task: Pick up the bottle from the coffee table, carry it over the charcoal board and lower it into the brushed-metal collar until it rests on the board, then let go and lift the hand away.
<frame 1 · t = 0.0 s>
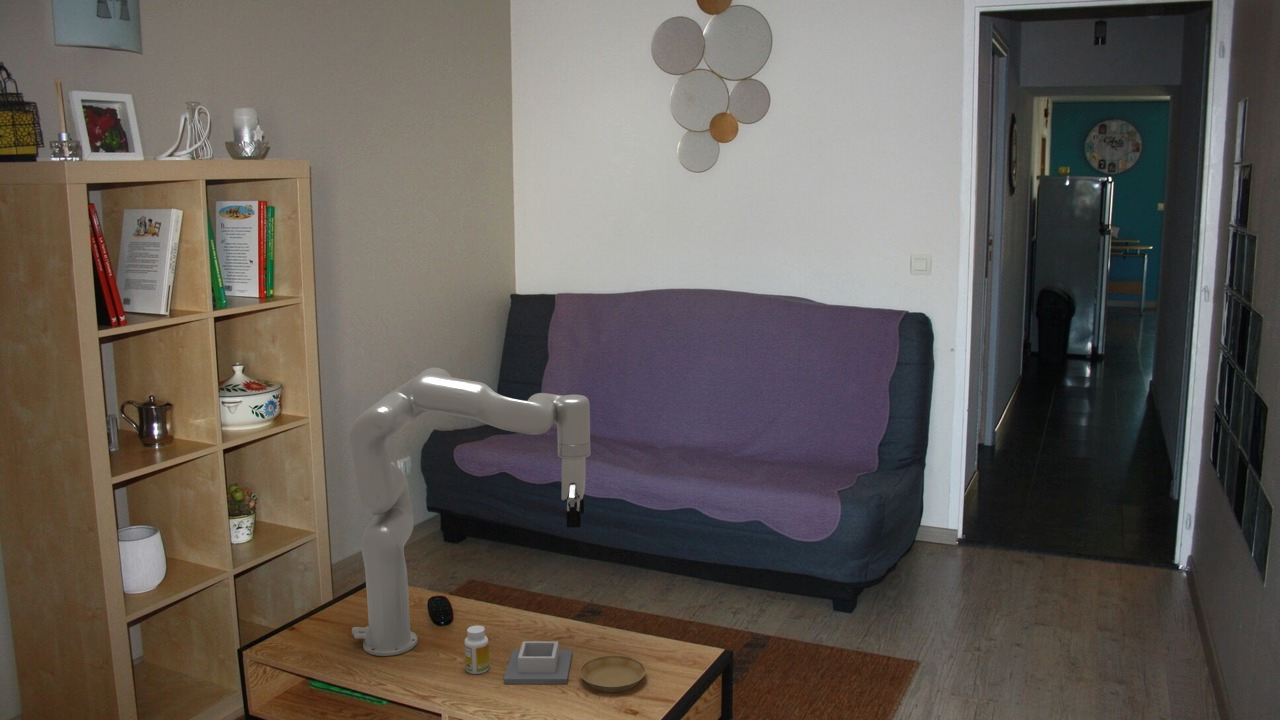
hand: (575, 519, 239), 31 cm above the table, fingers open, 9 cm apart
bottle holder: (539, 668, 233), on the table
supplement bottle: (477, 669, 234), on the table
plant saucer: (612, 681, 228), on the table
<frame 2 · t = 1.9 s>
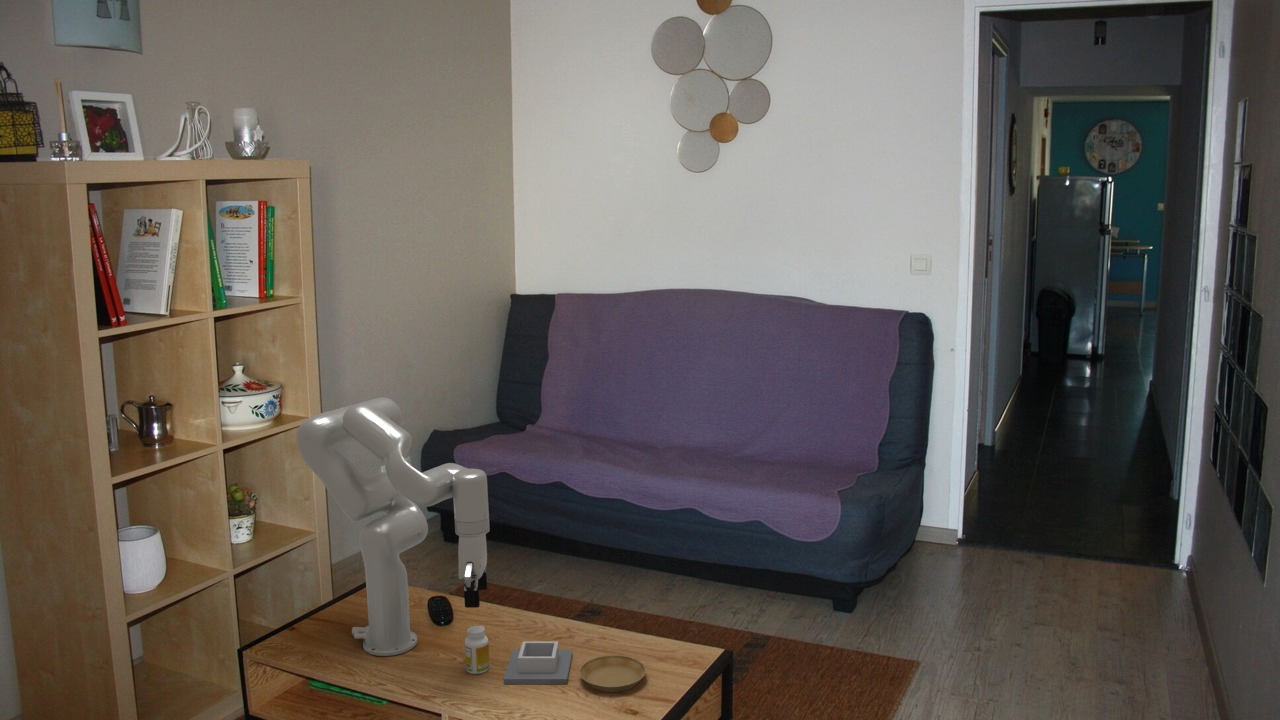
hand: (476, 598, 230), 17 cm above the table, fingers open, 9 cm apart
nothing on the table moved.
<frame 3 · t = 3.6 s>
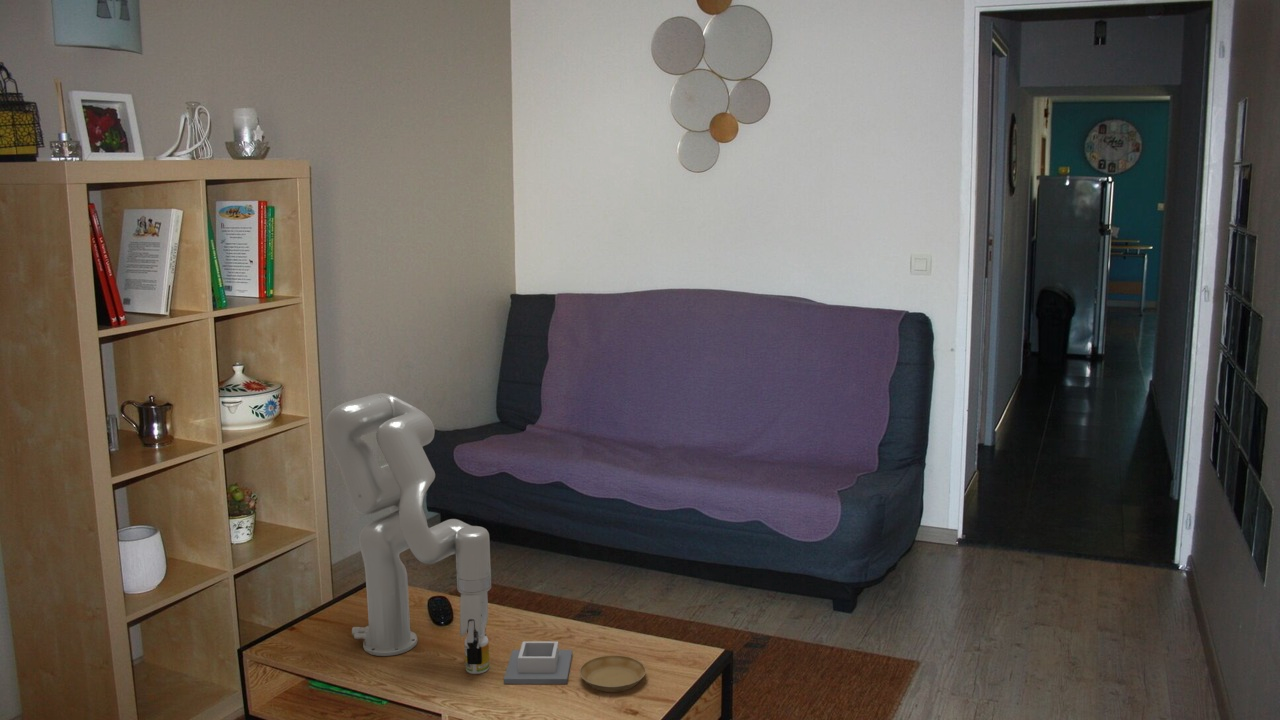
hand: (477, 656, 233), 3 cm above the table, fingers closed on supplement bottle, 5 cm apart
supplement bottle: (477, 669, 234), on the table, touching gripper
everything else where it was.
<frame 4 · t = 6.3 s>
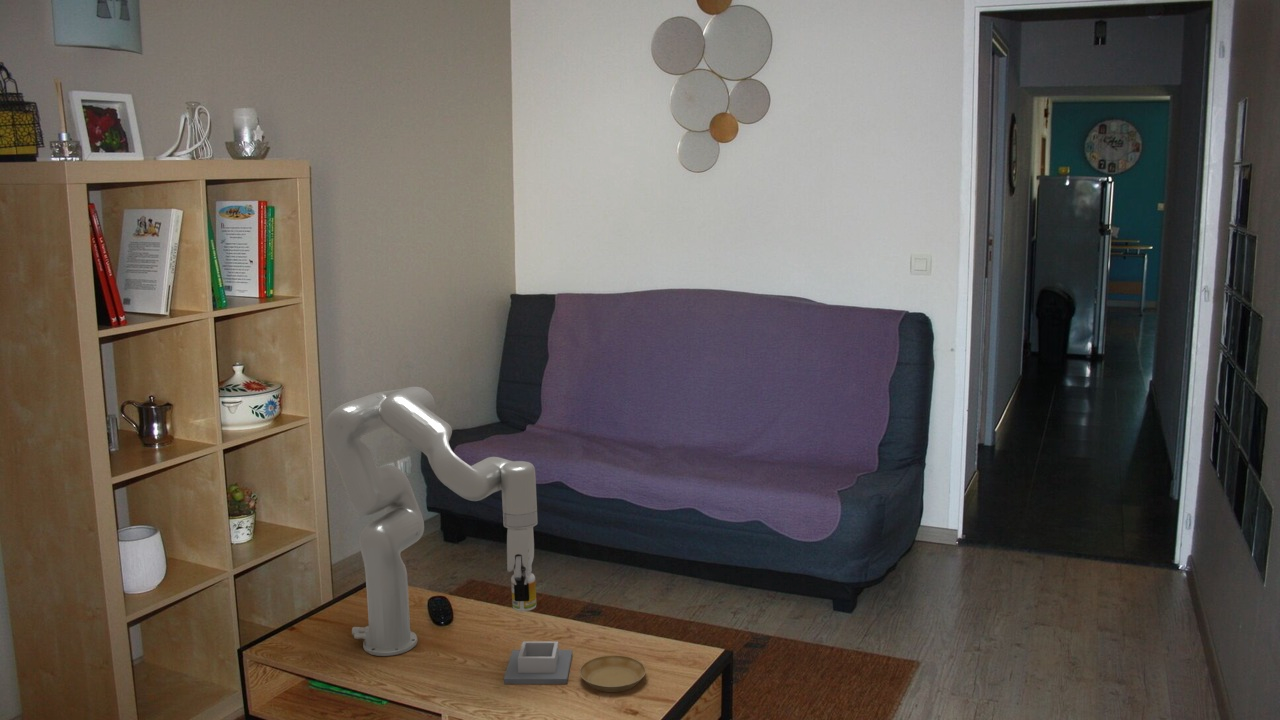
hand: (524, 594, 230), 18 cm above the table, fingers closed on supplement bottle, 5 cm apart
supplement bottle: (524, 607, 231), point 15 cm above the table, touching gripper
everything else where it was.
when the fingers open (6 cm above the table, at t = 9.2 s): supplement bottle drops 2 cm, resting on bottle holder.
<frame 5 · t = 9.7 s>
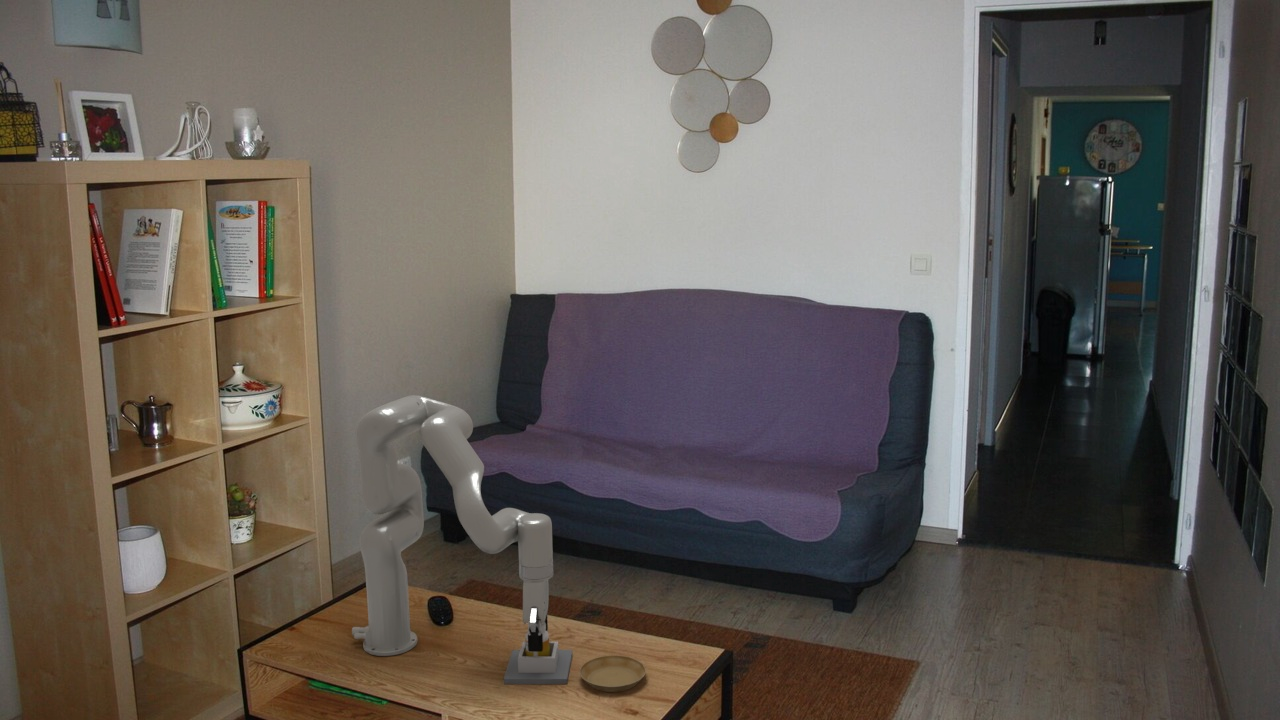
hand: (538, 640, 232), 7 cm above the table, fingers open, 9 cm apart
supplement bottle: (538, 664, 233), point 1 cm above the table, touching bottle holder
everything else where it was.
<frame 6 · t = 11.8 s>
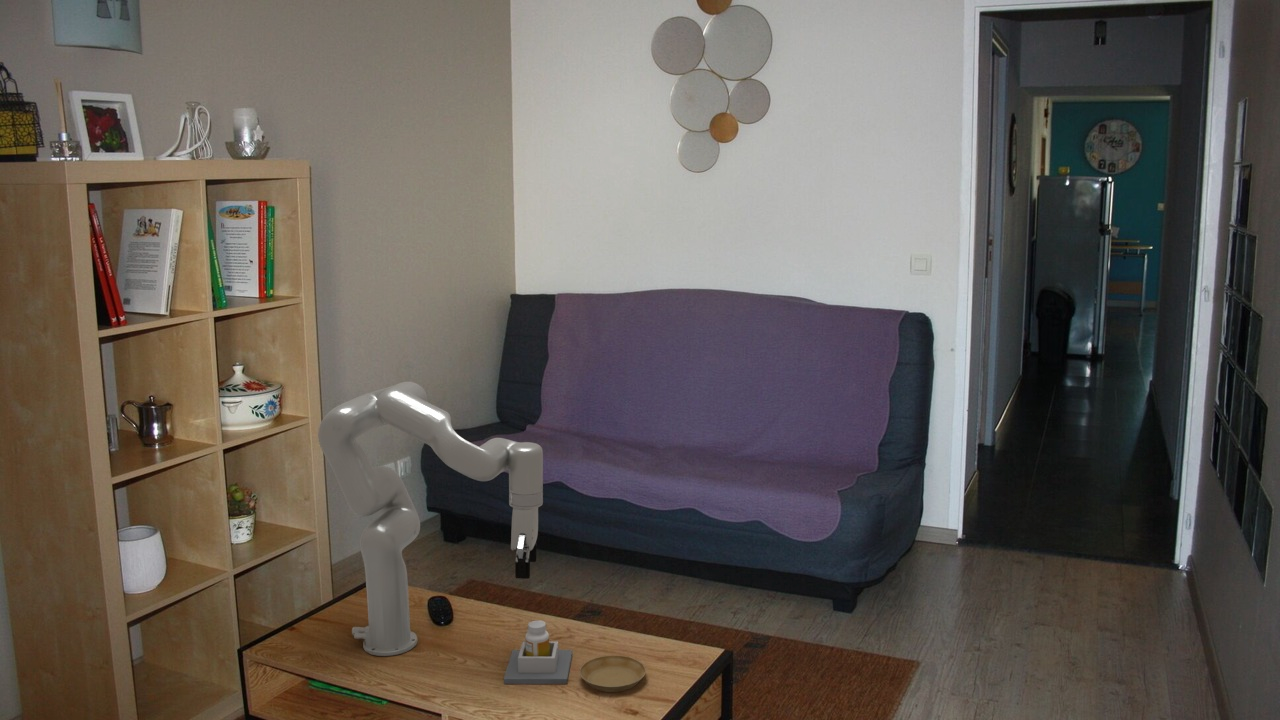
hand: (526, 569, 234), 22 cm above the table, fingers open, 9 cm apart
nothing on the table moved.
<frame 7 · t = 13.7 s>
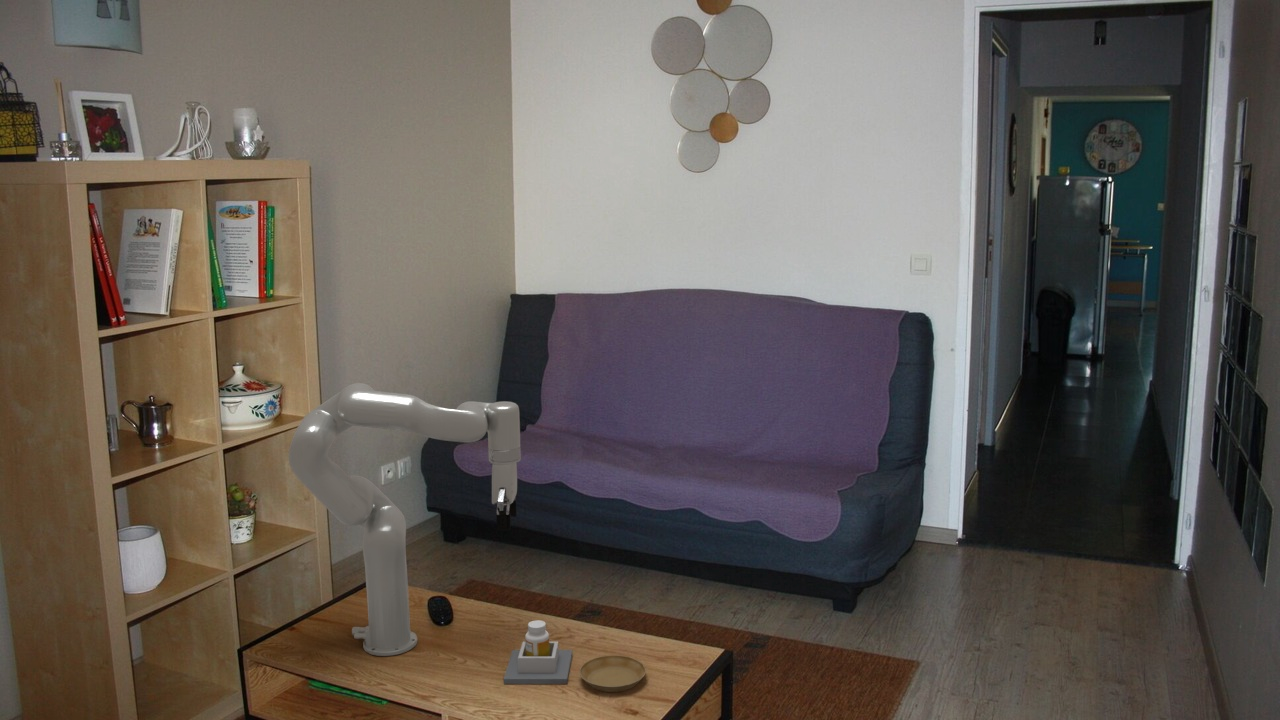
hand: (507, 523, 246), 28 cm above the table, fingers open, 9 cm apart
nothing on the table moved.
at the end: supplement bottle 0.2 cm from the bottle holder (horizontally); supplement bottle point 1.0 cm above the table; supplement bottle tilted 0° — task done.
